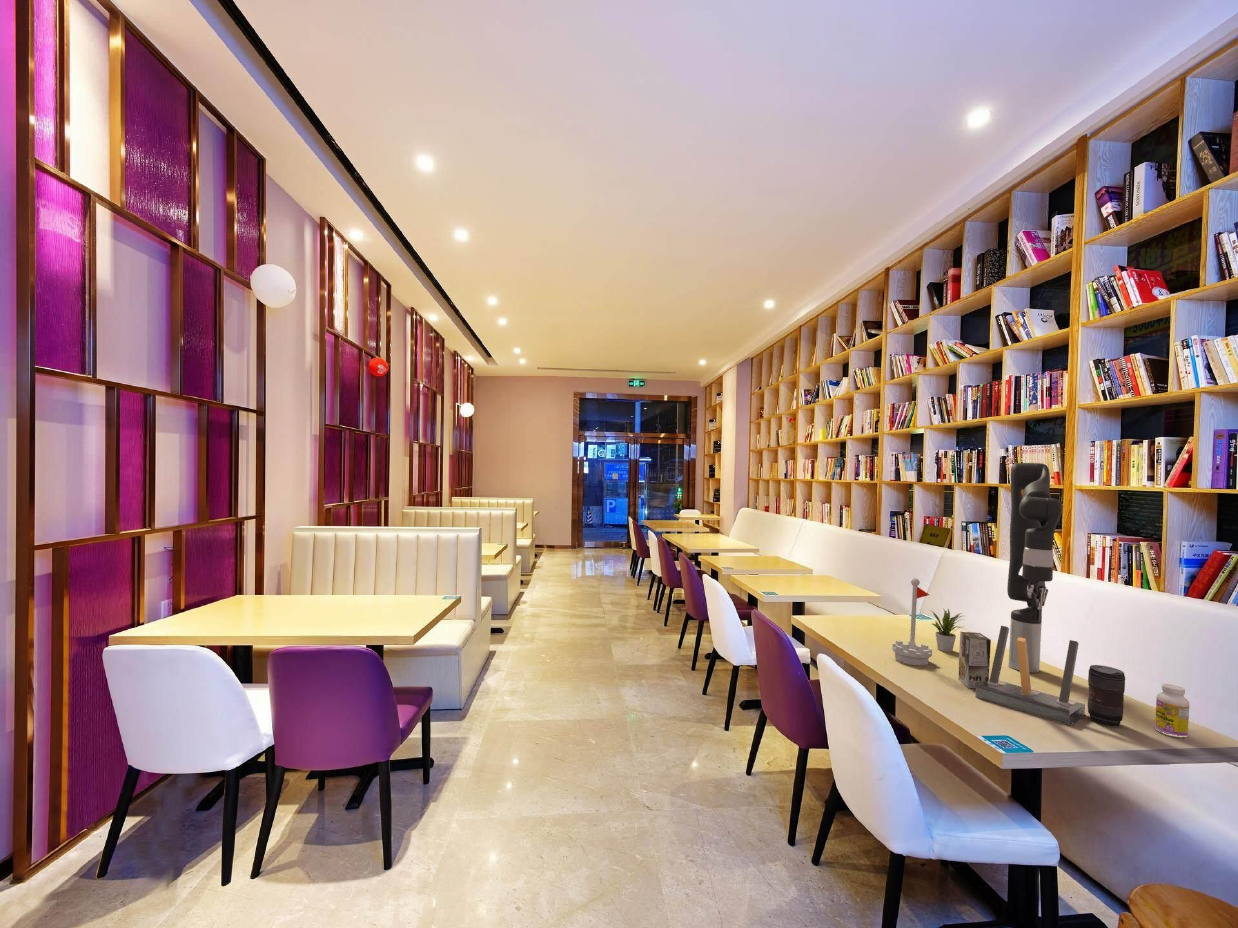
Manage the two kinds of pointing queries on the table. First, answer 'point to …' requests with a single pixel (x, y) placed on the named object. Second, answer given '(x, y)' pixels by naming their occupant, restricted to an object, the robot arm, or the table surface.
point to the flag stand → (913, 636)
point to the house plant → (946, 631)
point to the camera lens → (1106, 695)
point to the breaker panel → (1031, 702)
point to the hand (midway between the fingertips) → (1035, 620)
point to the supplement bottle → (1172, 711)
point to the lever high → (1068, 674)
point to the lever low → (998, 657)
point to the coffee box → (974, 659)
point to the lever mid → (1024, 667)
